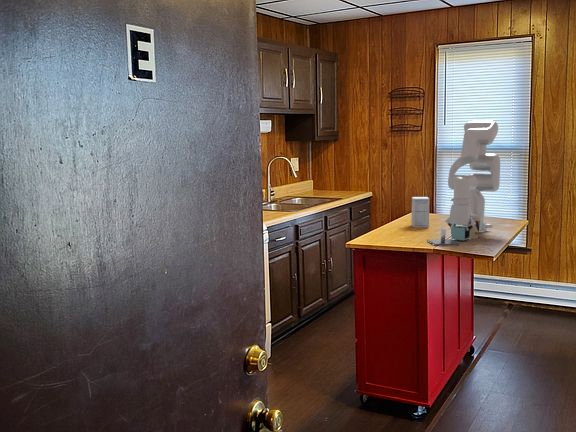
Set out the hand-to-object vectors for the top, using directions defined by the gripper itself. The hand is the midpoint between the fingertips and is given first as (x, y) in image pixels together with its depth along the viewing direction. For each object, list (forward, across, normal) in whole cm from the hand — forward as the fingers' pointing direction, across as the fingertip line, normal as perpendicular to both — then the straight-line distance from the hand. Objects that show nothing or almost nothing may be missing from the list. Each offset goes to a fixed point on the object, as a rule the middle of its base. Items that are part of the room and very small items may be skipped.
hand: (460, 236), depth 303 cm
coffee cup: (+2, 0, +12) cm, 12 cm away
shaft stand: (+2, -3, -13) cm, 14 cm away
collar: (+1, 0, 0) cm, 1 cm away
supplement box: (+3, -38, +29) cm, 48 cm away
